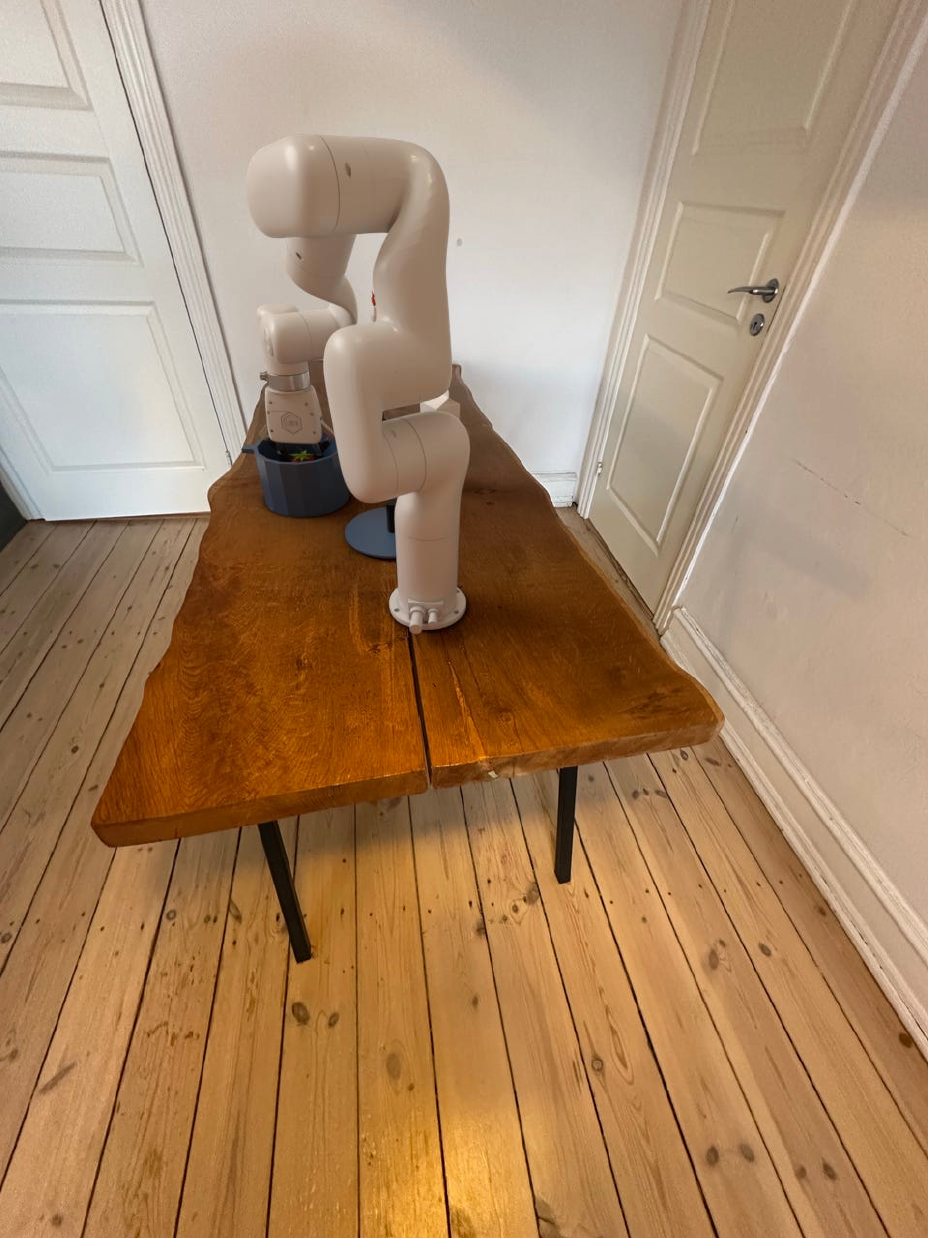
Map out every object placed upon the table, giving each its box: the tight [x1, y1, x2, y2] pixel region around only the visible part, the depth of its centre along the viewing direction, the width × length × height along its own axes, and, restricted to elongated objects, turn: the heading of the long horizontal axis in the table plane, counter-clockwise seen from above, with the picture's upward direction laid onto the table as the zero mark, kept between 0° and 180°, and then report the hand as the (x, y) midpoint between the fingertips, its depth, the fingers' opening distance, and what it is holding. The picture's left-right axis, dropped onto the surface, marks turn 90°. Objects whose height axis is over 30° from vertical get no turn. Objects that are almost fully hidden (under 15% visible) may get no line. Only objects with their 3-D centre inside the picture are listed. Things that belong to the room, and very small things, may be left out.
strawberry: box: [288, 446, 314, 463], centre depth 114 cm, size 6×8×10 cm
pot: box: [241, 434, 351, 518], centre depth 114 cm, size 18×23×12 cm
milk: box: [419, 389, 461, 421], centre depth 116 cm, size 6×6×22 cm
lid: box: [344, 498, 397, 559], centre depth 105 cm, size 19×19×7 cm
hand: (303, 469), depth 114 cm, fingers closed on strawberry, 5 cm apart
